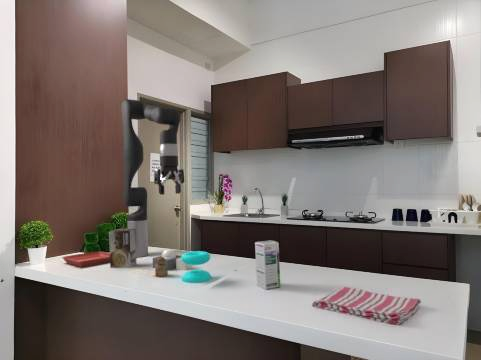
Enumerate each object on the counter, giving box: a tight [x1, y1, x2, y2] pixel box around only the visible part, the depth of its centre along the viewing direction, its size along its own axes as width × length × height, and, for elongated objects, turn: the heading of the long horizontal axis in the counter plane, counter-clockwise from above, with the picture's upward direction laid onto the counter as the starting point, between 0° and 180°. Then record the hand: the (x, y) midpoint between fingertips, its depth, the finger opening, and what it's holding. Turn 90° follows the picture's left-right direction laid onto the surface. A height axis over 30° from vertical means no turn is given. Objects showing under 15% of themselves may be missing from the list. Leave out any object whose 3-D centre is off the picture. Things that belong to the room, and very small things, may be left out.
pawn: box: [154, 256, 169, 278], centre depth 134 cm, size 4×4×7 cm
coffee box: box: [108, 228, 138, 269], centre depth 152 cm, size 9×6×16 cm
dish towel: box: [311, 286, 422, 326], centre depth 98 cm, size 17×23×4 cm
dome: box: [161, 248, 177, 259], centre depth 148 cm, size 6×6×6 cm
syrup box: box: [254, 240, 281, 290], centre depth 120 cm, size 6×6×14 cm
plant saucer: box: [61, 251, 110, 268], centre depth 167 cm, size 18×18×3 cm
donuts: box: [181, 250, 212, 284], centre depth 128 cm, size 10×10×10 cm
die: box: [175, 258, 192, 271], centre depth 144 cm, size 4×4×4 cm
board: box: [129, 254, 182, 279], centre depth 143 cm, size 20×22×5 cm
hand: (170, 194), depth 154 cm, fingers open, 8 cm apart
